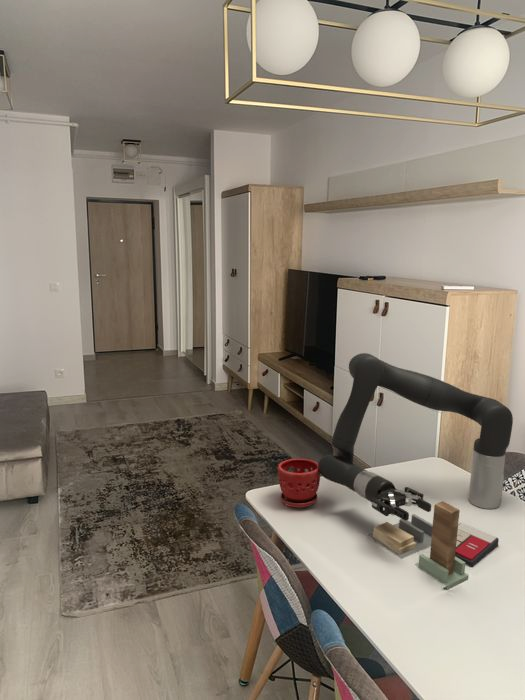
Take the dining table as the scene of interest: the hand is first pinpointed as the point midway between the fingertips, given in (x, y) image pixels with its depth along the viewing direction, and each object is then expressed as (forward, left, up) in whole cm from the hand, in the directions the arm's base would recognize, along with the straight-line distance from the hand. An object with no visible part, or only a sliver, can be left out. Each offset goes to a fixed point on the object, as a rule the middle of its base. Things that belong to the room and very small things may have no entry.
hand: (419, 512), depth 139 cm
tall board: (0, +8, -11) cm, 14 cm away
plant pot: (+8, -39, -12) cm, 42 cm away
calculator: (-14, +5, -13) cm, 20 cm away
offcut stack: (+1, -7, -11) cm, 13 cm away
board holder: (0, +8, -13) cm, 15 cm away
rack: (-3, -7, -13) cm, 15 cm away
